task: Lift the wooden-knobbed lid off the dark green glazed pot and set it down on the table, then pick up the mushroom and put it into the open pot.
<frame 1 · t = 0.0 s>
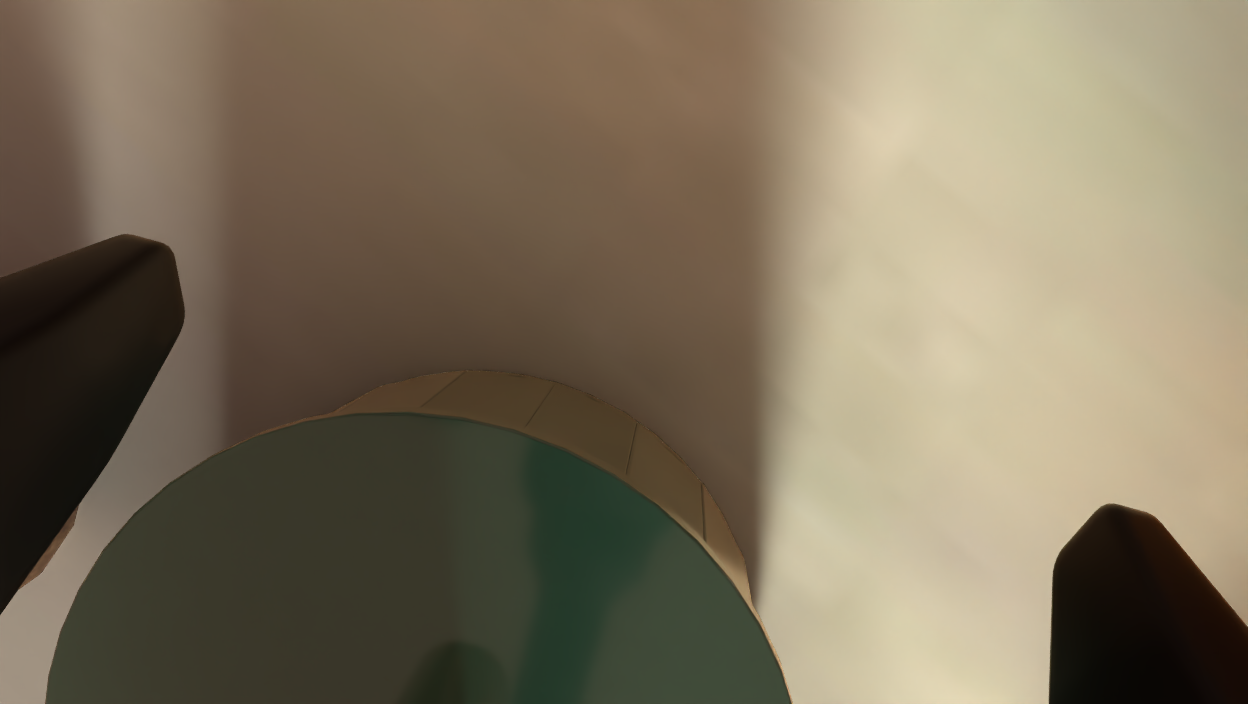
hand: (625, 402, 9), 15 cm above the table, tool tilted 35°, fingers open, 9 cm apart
pot: (486, 630, 25), on the table
mushroom: (2, 446, 26), on the table
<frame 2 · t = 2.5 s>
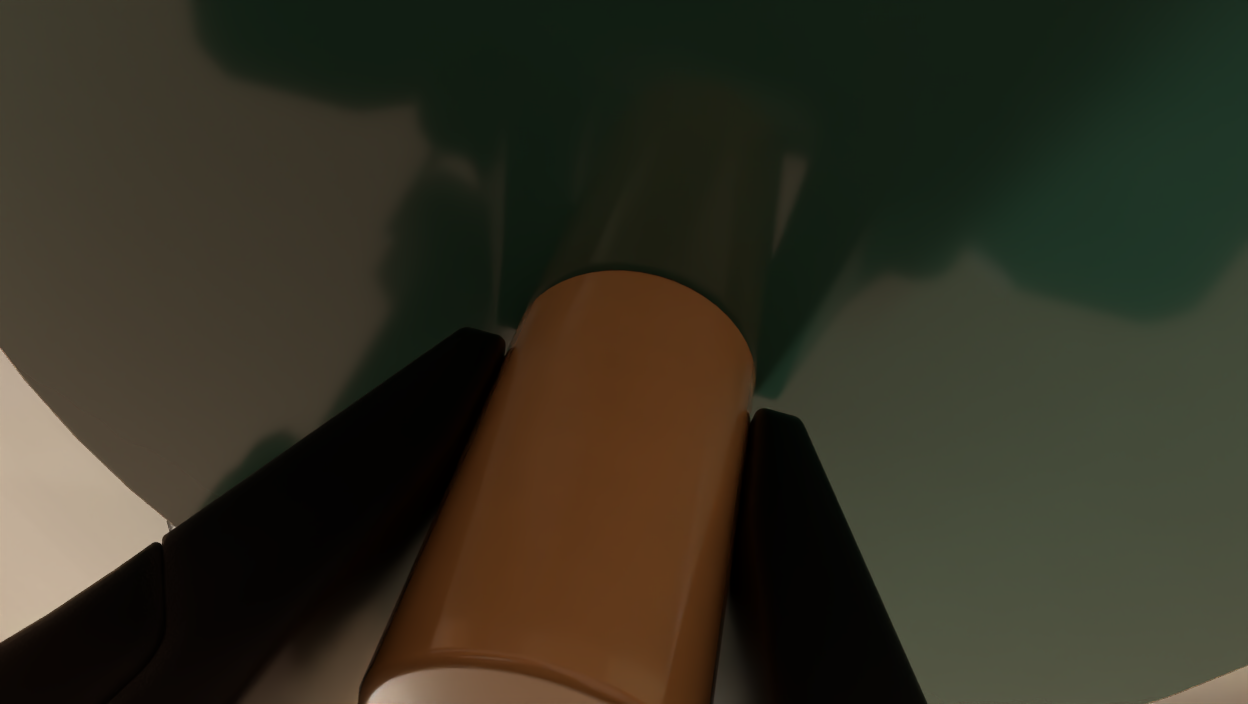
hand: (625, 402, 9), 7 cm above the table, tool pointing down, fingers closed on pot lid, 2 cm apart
pot lid: (643, 332, 9), point 6 cm above the table, touching gripper, pot
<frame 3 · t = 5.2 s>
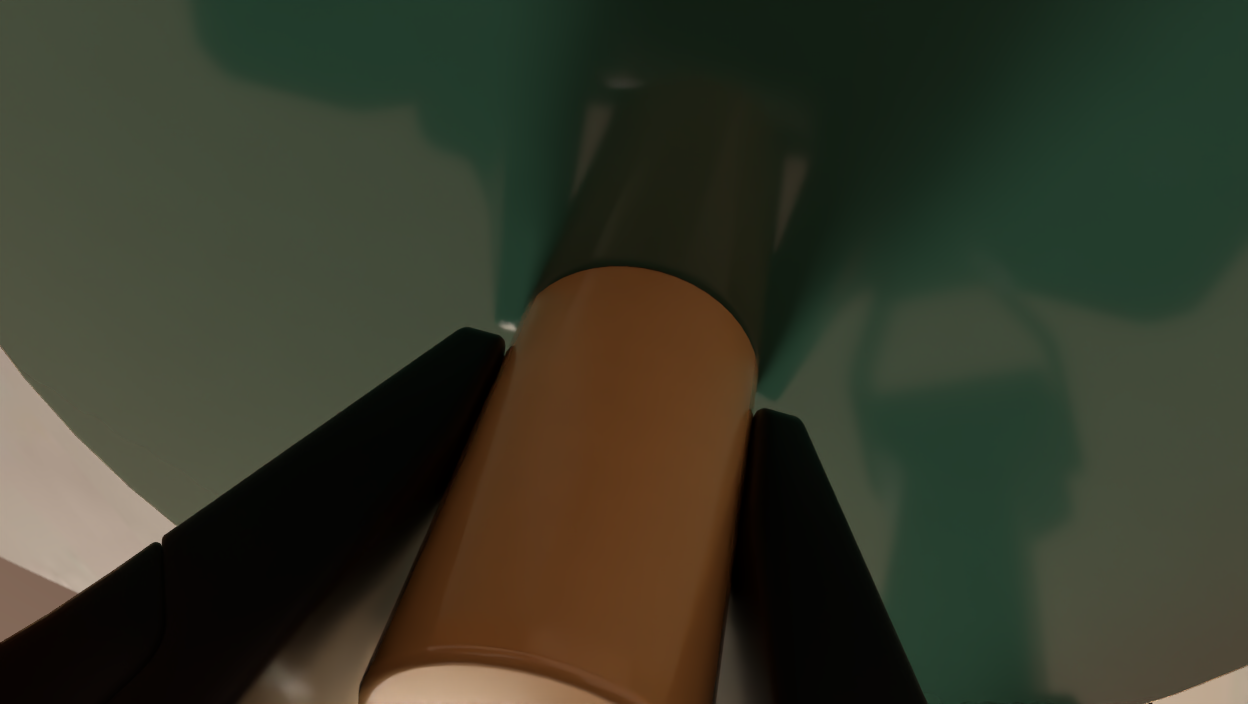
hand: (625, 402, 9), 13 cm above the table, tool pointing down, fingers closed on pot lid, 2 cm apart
pot lid: (645, 328, 9), point 12 cm above the table, touching gripper
when the fingers open (2 cm above the table, at t = 8.1 s): pot lid stays where it is, point 1 cm above the table.
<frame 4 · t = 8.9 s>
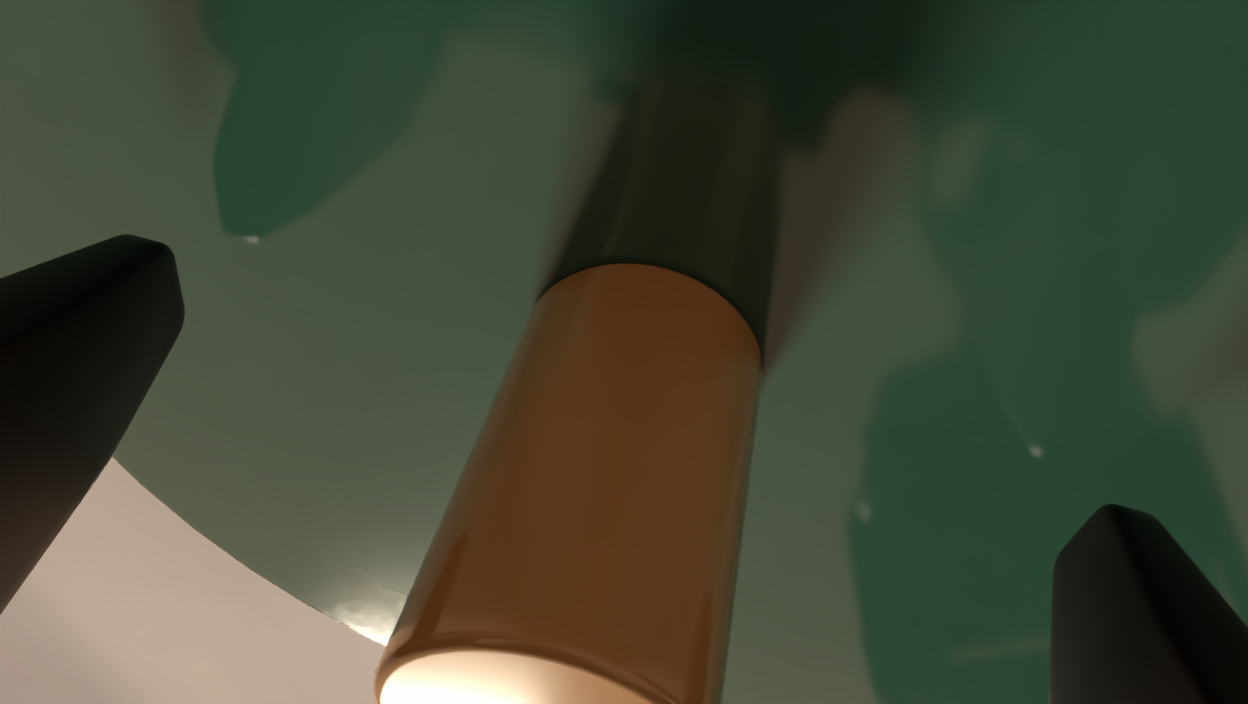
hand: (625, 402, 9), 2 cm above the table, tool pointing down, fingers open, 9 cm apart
pot lid: (651, 325, 10), point 1 cm above the table
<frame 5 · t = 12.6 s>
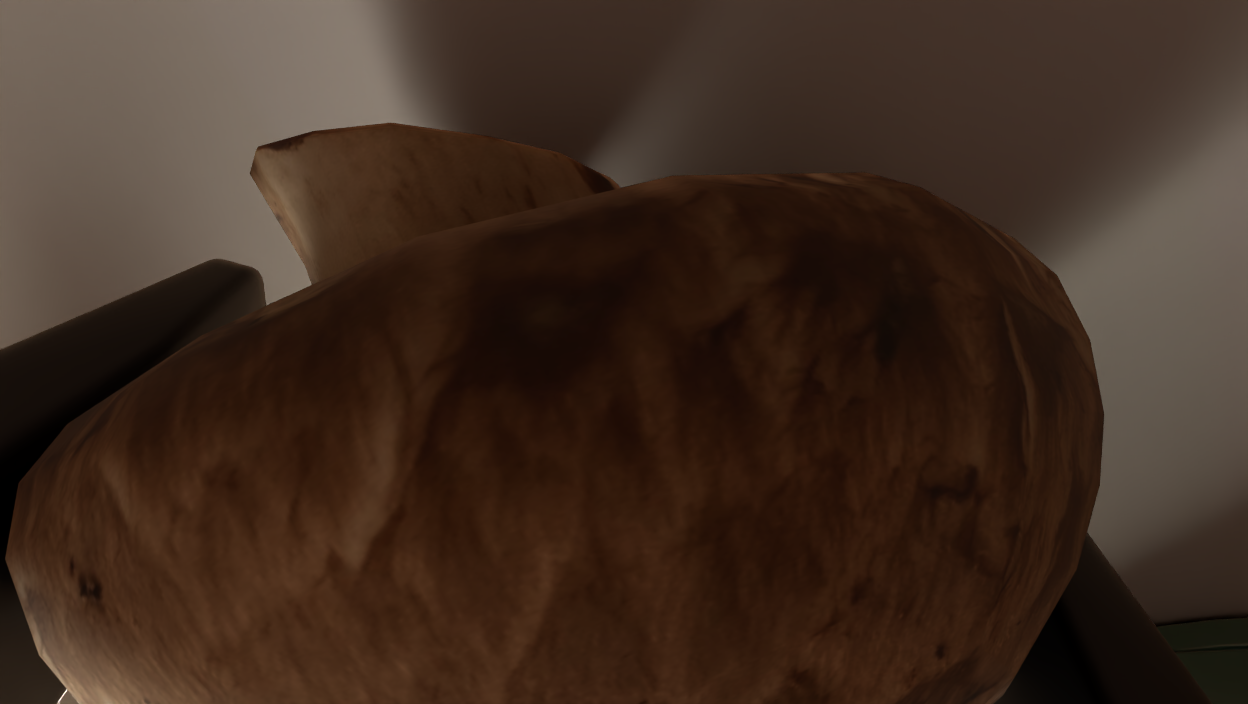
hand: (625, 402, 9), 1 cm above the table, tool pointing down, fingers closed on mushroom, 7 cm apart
mushroom: (640, 305, 10), on the table, touching gripper
when the fingers open (3 cm above the table, at t = 18.3 s): mushroom stays where it is, resting on pot.
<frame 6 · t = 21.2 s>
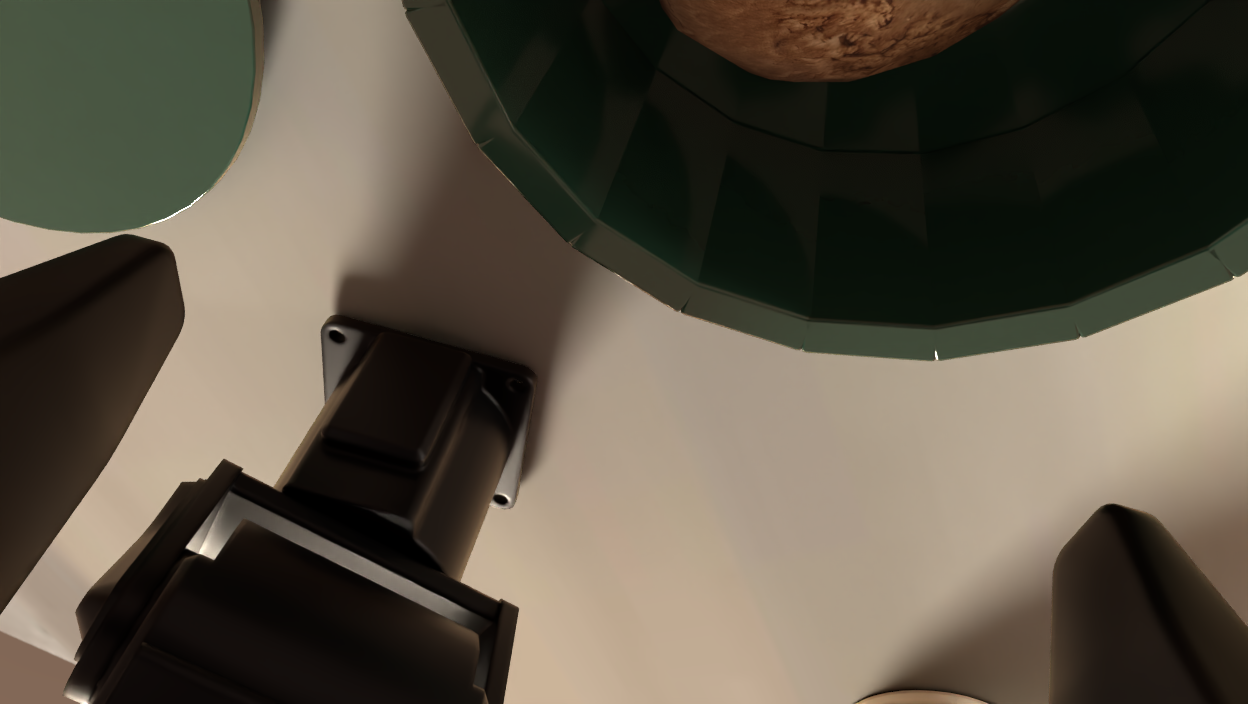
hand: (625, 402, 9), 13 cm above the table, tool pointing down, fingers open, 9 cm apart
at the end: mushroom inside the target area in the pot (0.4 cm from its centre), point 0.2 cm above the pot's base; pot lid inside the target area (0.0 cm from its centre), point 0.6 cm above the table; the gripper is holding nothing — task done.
